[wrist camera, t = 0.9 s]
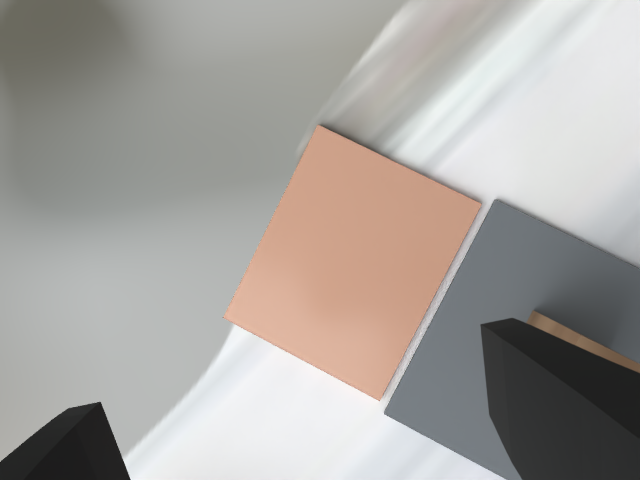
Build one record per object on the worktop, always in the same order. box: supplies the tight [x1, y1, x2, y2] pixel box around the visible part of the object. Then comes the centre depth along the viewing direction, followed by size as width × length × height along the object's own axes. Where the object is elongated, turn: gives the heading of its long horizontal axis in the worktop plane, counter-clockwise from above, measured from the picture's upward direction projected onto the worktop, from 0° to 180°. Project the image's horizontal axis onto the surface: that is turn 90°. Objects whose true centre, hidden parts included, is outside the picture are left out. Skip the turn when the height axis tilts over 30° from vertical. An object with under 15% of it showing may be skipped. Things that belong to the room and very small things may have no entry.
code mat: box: [384, 200, 640, 480], centre depth 25 cm, size 12×12×1 cm
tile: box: [223, 125, 482, 401], centre depth 26 cm, size 9×11×1 cm
